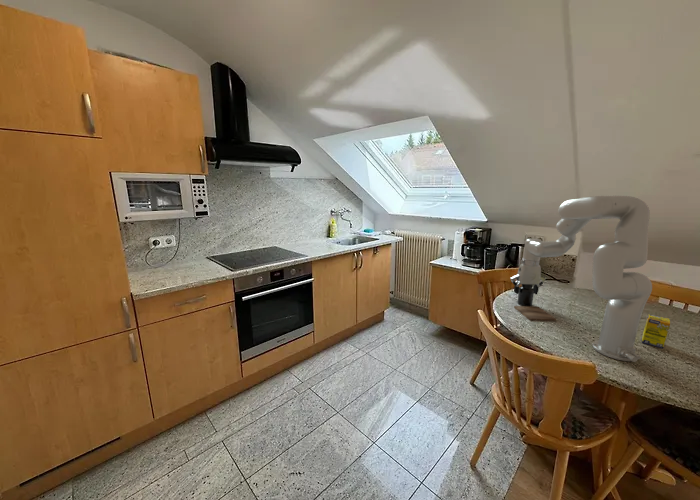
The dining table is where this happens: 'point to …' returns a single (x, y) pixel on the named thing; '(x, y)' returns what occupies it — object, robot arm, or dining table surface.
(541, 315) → the walnut board
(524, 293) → the supplement bottle
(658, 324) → the supplement box
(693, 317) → the dining table surface
